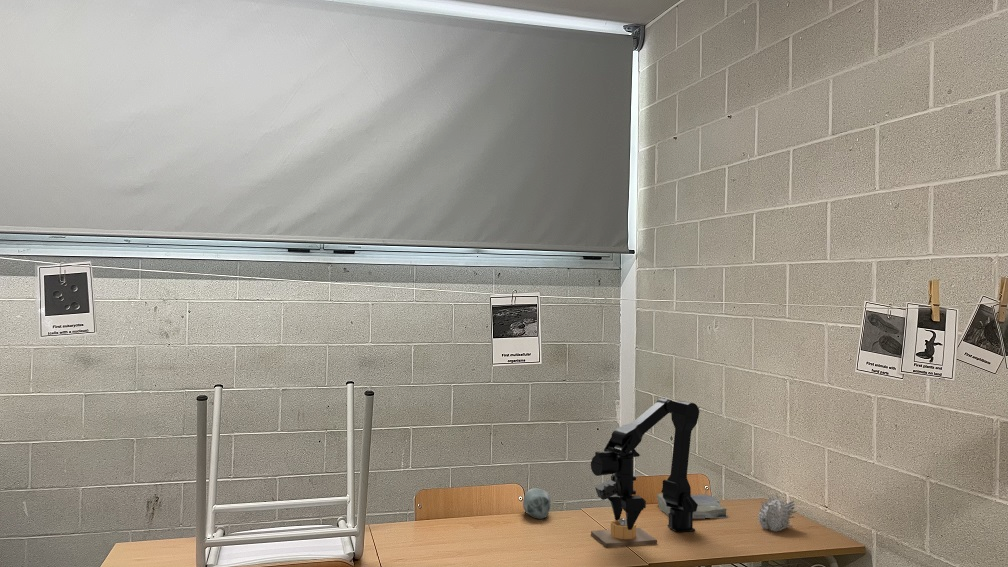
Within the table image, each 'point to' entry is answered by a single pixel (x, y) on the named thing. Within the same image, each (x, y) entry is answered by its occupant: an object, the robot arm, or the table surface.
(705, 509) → the fossil
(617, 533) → the tan wooden ring
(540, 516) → the grey rounded lump
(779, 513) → the sea urchin
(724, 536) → the table surface
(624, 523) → the hook post
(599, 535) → the shelf board
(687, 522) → the robot arm
